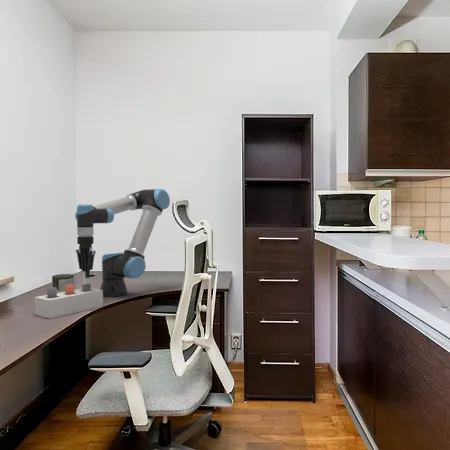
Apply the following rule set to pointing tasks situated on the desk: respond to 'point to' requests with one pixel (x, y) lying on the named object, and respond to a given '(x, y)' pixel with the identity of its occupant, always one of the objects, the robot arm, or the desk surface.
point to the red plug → (69, 289)
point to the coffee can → (62, 281)
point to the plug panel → (68, 303)
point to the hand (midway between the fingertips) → (86, 284)
